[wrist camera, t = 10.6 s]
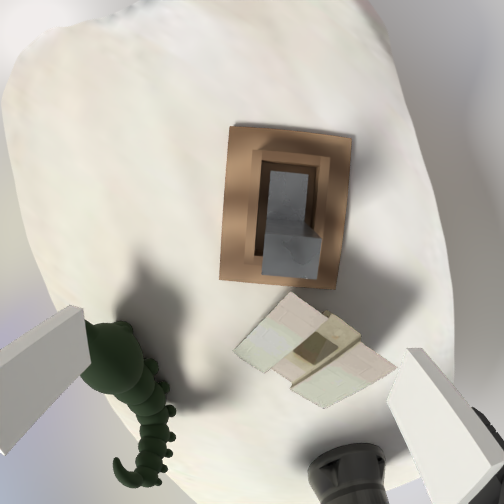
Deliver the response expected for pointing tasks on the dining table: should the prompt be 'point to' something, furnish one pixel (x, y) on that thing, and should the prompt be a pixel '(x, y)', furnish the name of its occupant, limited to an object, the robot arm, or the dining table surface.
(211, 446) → the dining table surface
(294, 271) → the bracket
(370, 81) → the dining table surface
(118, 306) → the dining table surface
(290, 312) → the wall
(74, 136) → the dining table surface
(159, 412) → the toy figurine
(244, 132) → the brown wooden flat frame
